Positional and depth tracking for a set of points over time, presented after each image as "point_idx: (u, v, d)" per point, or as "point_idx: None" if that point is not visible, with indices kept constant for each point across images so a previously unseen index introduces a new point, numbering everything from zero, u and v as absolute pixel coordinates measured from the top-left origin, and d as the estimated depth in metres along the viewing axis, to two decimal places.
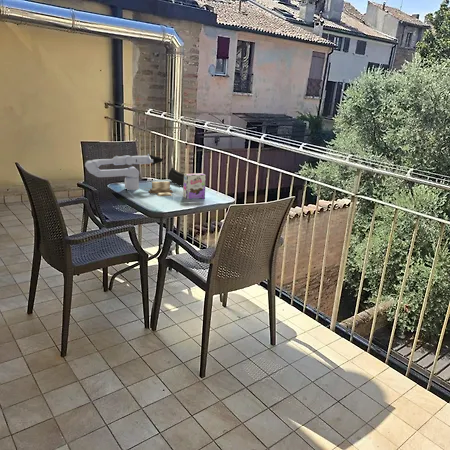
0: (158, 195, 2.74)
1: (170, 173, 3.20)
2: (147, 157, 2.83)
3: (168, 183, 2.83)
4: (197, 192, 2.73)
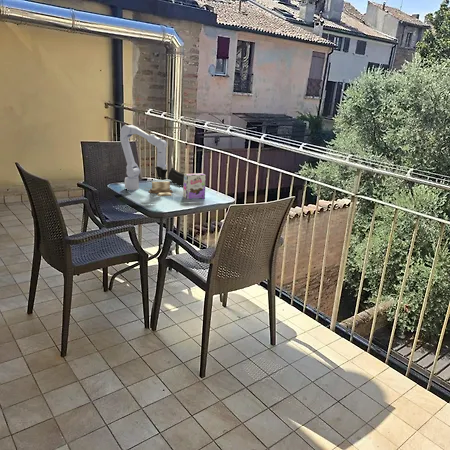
0: (158, 195, 2.74)
1: (170, 173, 3.20)
2: (164, 164, 2.77)
3: (168, 183, 2.83)
4: (197, 192, 2.73)
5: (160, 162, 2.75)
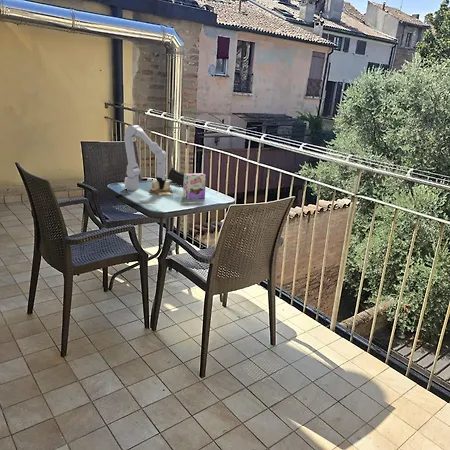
0: (158, 195, 2.74)
1: (170, 173, 3.19)
2: (164, 174, 2.79)
3: (168, 183, 2.83)
4: (197, 192, 2.73)
5: (160, 173, 2.77)
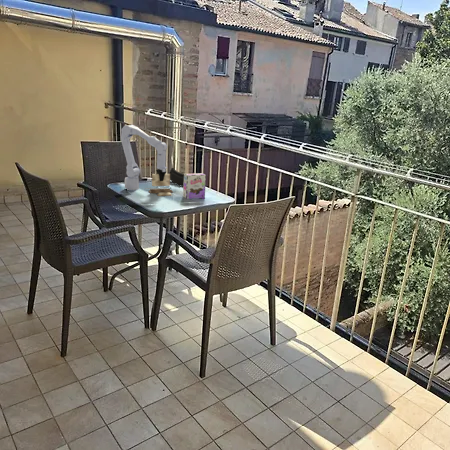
0: (158, 195, 2.74)
1: (170, 173, 3.19)
2: (164, 166, 2.77)
3: (168, 175, 2.81)
4: (197, 192, 2.73)
5: (160, 164, 2.75)
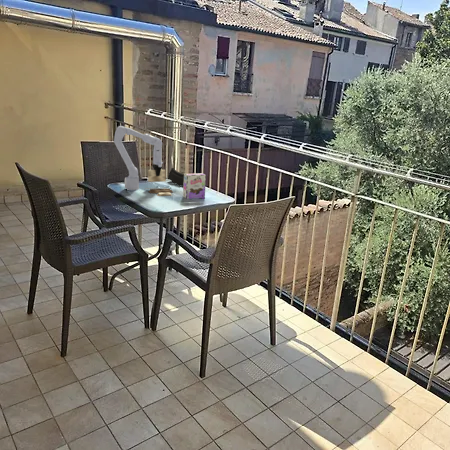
0: (158, 195, 2.74)
1: (170, 173, 3.19)
2: (160, 161, 2.85)
3: (164, 171, 2.89)
4: (197, 192, 2.73)
5: (156, 160, 2.83)
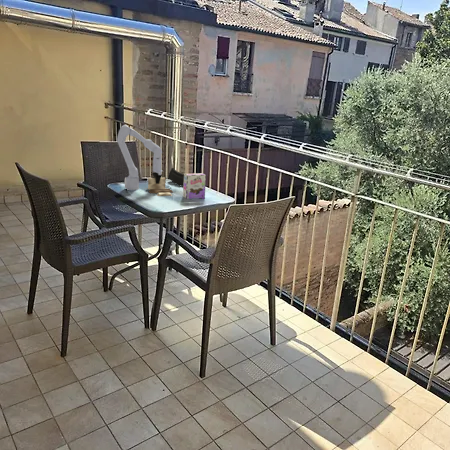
0: (158, 195, 2.74)
1: (170, 173, 3.19)
2: (160, 169, 2.87)
3: (164, 179, 2.91)
4: (197, 192, 2.73)
5: (156, 168, 2.85)
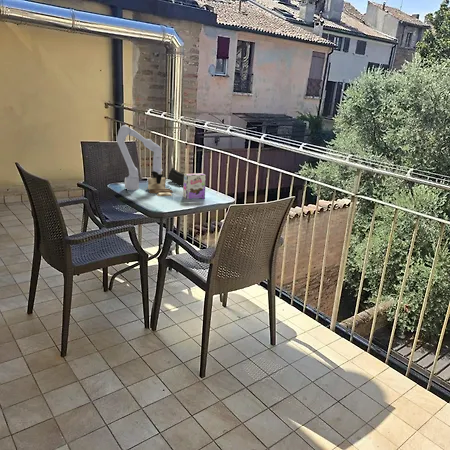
0: (158, 195, 2.74)
1: (170, 173, 3.19)
2: (160, 168, 2.87)
3: (164, 179, 2.91)
4: (197, 192, 2.73)
5: (156, 167, 2.85)
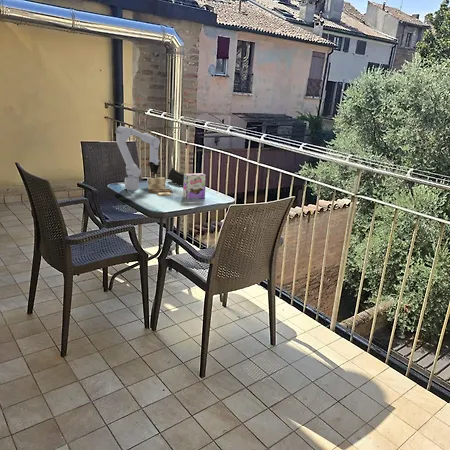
0: (158, 195, 2.74)
1: (170, 173, 3.19)
2: (157, 159, 2.93)
3: (164, 179, 2.91)
4: (197, 192, 2.73)
5: (153, 158, 2.91)
